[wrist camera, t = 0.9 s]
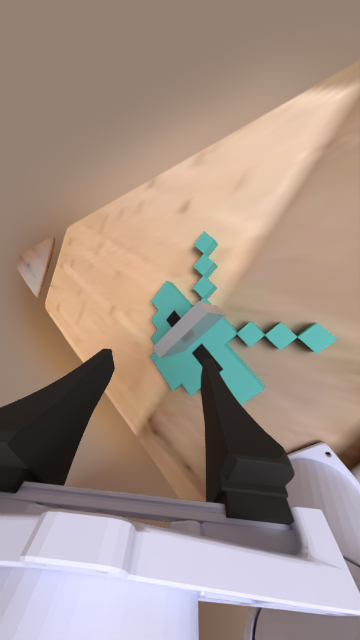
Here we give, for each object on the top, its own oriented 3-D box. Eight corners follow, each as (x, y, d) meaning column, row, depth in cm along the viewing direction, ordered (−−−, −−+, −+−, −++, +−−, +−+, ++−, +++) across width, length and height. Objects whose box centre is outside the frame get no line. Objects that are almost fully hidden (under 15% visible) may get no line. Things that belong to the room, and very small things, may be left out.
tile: (225, 315, 22) (208, 312, 16) (184, 351, 25) (159, 358, 20) (217, 306, 22) (198, 301, 17) (178, 342, 25) (152, 347, 20)
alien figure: (209, 238, 25) (139, 327, 32) (203, 231, 23) (130, 327, 31) (331, 337, 18) (206, 424, 25) (337, 339, 16) (199, 432, 23)
